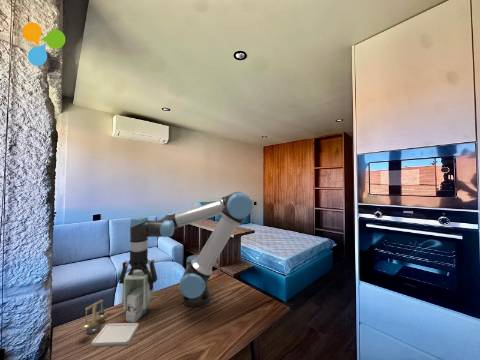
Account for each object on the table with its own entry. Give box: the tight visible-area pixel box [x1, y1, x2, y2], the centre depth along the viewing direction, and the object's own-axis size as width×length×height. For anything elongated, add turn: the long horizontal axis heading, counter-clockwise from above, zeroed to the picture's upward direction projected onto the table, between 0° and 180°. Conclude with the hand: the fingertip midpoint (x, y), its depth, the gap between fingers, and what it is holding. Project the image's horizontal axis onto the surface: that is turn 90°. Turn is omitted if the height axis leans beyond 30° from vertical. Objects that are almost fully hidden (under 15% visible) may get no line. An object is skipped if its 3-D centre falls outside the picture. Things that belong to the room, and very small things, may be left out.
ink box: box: [125, 287, 148, 323], centre depth 96 cm, size 9×5×12 cm, turn 169°
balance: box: [79, 299, 108, 336], centre depth 86 cm, size 14×5×12 cm, turn 5°
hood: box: [123, 267, 154, 311], centre depth 97 cm, size 9×11×14 cm
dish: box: [90, 322, 140, 348], centre depth 83 cm, size 14×10×1 cm
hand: (138, 297), depth 96 cm, fingers closed on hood, 9 cm apart
